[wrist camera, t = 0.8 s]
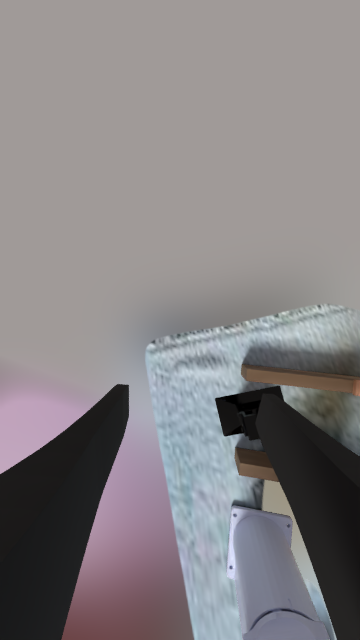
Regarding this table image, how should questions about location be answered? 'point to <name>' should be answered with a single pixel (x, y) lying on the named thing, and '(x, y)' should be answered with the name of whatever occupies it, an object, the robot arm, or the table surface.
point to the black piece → (242, 411)
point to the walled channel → (258, 461)
